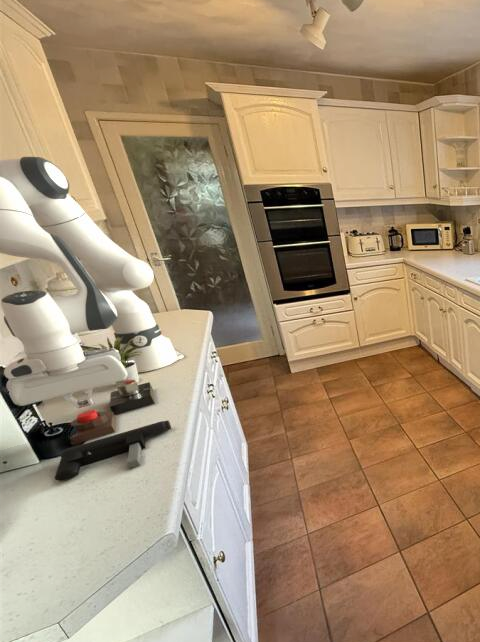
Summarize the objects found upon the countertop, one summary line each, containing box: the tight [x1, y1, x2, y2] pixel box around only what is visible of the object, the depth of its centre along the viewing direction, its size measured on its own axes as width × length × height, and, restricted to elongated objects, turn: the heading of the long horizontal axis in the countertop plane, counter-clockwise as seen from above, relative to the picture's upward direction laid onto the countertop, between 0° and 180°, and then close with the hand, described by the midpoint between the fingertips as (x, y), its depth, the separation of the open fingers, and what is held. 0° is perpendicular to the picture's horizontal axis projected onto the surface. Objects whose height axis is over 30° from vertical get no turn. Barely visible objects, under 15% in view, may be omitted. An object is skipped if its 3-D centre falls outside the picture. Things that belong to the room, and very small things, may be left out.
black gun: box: [54, 419, 172, 482], centre depth 93 cm, size 3×20×16 cm
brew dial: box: [115, 380, 140, 397], centre depth 116 cm, size 4×4×4 cm
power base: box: [70, 410, 117, 446], centre depth 104 cm, size 10×8×4 cm
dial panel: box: [109, 381, 156, 416], centre depth 118 cm, size 12×9×3 cm
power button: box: [76, 409, 99, 423], centre depth 103 cm, size 4×4×2 cm
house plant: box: [88, 336, 145, 385], centre depth 126 cm, size 14×14×16 cm
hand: (85, 405), depth 102 cm, fingers closed
